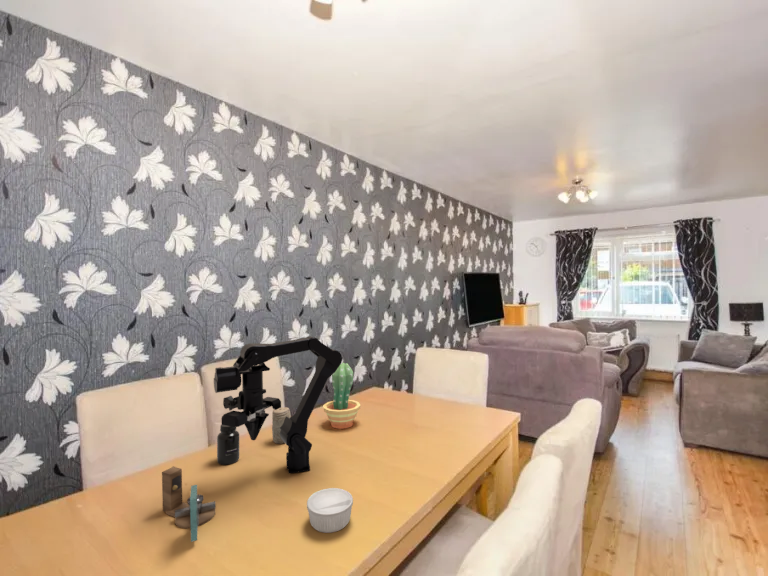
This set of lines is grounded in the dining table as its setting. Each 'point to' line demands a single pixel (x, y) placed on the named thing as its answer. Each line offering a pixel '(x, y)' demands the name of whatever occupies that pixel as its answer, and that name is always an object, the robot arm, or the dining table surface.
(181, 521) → the stand
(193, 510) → the turnstile
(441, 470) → the dining table surface
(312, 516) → the ramekin
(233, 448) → the supplement bottle
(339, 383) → the potted cactus
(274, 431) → the beige piece
